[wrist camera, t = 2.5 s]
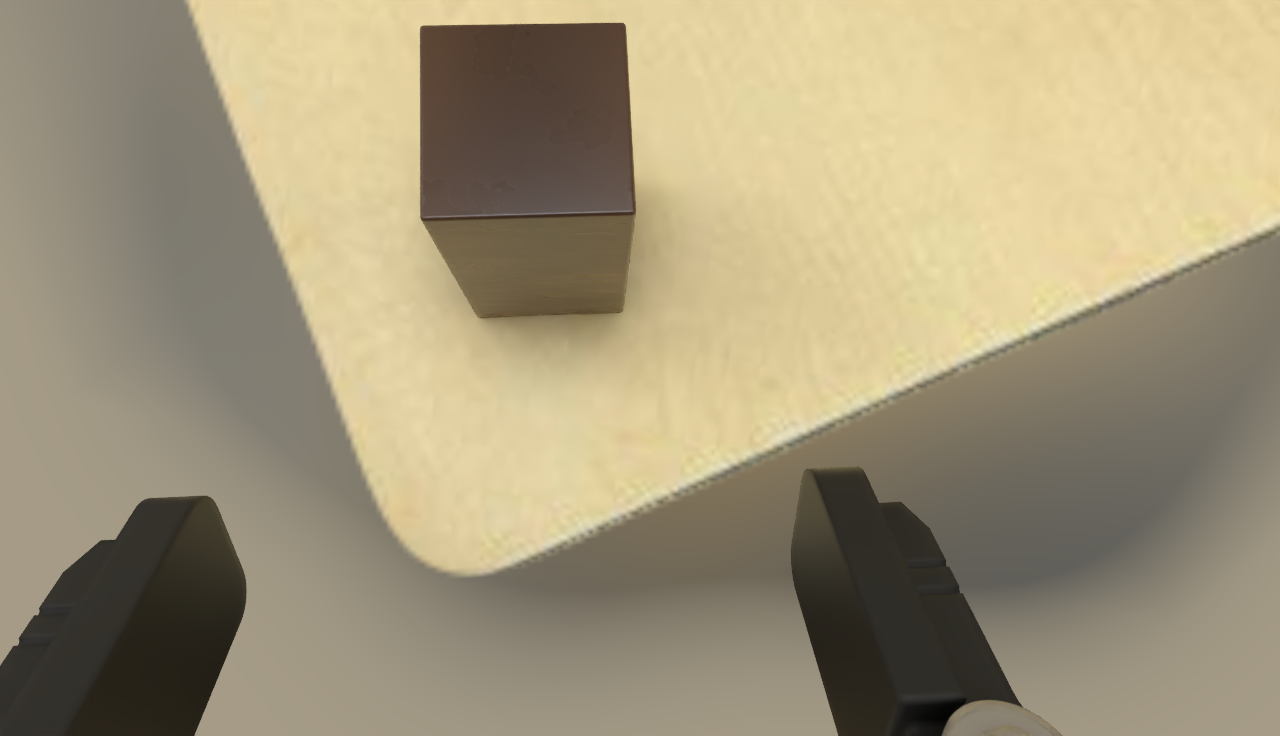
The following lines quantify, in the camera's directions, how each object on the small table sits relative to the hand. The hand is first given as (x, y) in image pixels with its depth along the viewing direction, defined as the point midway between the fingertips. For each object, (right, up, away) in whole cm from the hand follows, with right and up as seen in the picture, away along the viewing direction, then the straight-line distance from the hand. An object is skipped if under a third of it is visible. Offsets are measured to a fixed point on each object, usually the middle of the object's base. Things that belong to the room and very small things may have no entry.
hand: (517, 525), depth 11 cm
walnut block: (-1, +6, +13) cm, 15 cm away
